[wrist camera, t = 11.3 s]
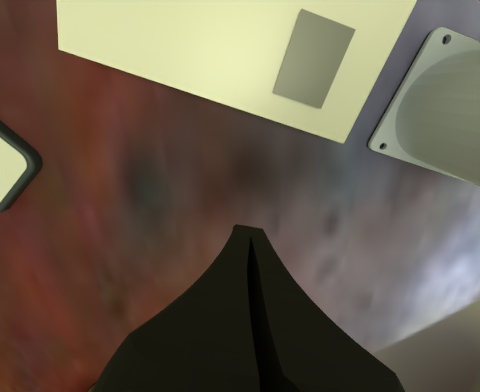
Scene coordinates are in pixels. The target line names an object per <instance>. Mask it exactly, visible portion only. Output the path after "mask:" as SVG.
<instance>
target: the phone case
mask: <svg viewBox="0 0 480 392" xmlns="http://www.w3.org/2000/svg"><path fill="white" fill-rule="evenodd" d="M41 167H42V159H41V157H40V155H39V153H38V152H37V151H36V150H35V149H34V148H33V147H32V146H30V145H29V144H28V143H27V142H26V141H24V140H23V139H22V138H21V137H20V136H18V135H17V134H16V133H15V132H14V131H12V130H11V129H10V128H9V127H7V126H6V125H5V124H4V123H3V122H1V121H0V213H1V212H3V211H4V210H6V209H8V208H9V207H10V206H11V205H12V204H13V202H14V201H15V200H16V199H17V197H18V196H19V195H20V194H21V193H22V191H23V190H24V189H25V188H26V186H27V185H28V184H29V183H30V181H31V180H32V179H33V178H34V177H35V175H36V174H37V173H38V172H39V170H40V169H41Z"/></svg>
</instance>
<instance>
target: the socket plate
mask: <svg viewBox="0 0 480 392" xmlns="http://www.w3.org/2000/svg"><path fill="white" fill-rule="evenodd" d="M416 1H417V0H57V21H58V44H59V50H62V51H65V52H68V53H71V54H74V55H77V56H80V57H83V58H86V59H89V60H92V61H95V62H98V63H101V64H104V65H107V66H111V67H114V68H117V69H120V70H123V71H126V72H129V73H132V74H135V75H138V76H141V77H144V78H147V79H150V80H153V81H156V82H159V83H162V84H165V85H168V86H171V87H174V88H177V89H180V90H183V91H186V92H189V93H192V94H195V95H198V96H201V97H204V98H207V99H210V100H213V101H216V102H219V103H222V104H225V105H228V106H231V107H234V108H237V109H240V110H243V111H246V112H249V113H252V114H255V115H258V116H261V117H264V118H267V119H270V120H273V121H276V122H279V123H282V124H285V125H288V126H291V127H294V128H297V129H300V130H303V131H306V132H309V133H312V134H315V135H318V136H321V137H324V138H327V139H330V140H333V141H336V142H339V143H342V144H344V142H345V140H346V138H347V136H348V134H349V132H350V130H351V128H352V126H353V124H354V122H355V120H356V119H357V117H358V115H359V113H360V111H361V109H362V107H363V105H364V103H365V101H366V99H367V97H368V95H369V93H370V91H371V89H372V87H373V85H374V83H375V81H376V79H377V78H378V76H379V74H380V72H381V70H382V68H383V66H384V64H385V62H386V60H387V58H388V56H389V54H390V52H391V50H392V48H393V46H394V44H395V42H396V40H397V39H398V37H399V35H400V33H401V31H402V29H403V27H404V25H405V23H406V21H407V19H408V17H409V15H410V13H411V11H412V9H413V7H414V5H415V3H416Z"/></svg>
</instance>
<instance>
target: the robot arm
mask: <svg viewBox="0 0 480 392" xmlns="http://www.w3.org/2000/svg"><path fill="white" fill-rule="evenodd" d="M444 36H445V37H446V42H445V43H444V44H443V43H442V39H443V37H444ZM382 143H384V146H383V147H382V148H380V145H381V144H382ZM368 147H369V148H370V149H371V150H373V151H376V152H379V153H382V154H385V155H388V156H391V157H394V158H397V159H400V160H403V161H406V162H409V163H412V164H415V165H418V166H421V167H424V168H427V169H430V170H433V171H436V172H439V173H442V174H445V175H448V176H451V177H454V178H457V179H460V180H463V181H466V182H470V183H473V184H476V185H478V186H480V42H479V41H477V40H474V39H472V38H469V37H467V36H464V35H462V34H459V33H457V32H454V31H452V30H449V29H447V28H445V27H440V28H437V29H434V30H433V31H431V33H430V34H429V35H428V37H427V39H426V41H425V42H424V44H423V46H422V48H421V50H420V51H419V53H418V55H417V57H416V58H415V60H414V62H413V64H412V66H411V67H410V69H409V71H408V73H407V75H406V76H405V78H404V80H403V82H402V83H401V85H400V87H399V89H398V91H397V92H396V94H395V96H394V98H393V99H392V101H391V103H390V105H389V107H388V108H387V110H386V112H385V114H384V116H383V117H382V119H381V121H380V123H379V124H378V126H377V128H376V130H375V132H374V133H373V135H372V137H371V139H370V141H369V143H368ZM92 392H405V390H404V388H403V386H402V385H401V383H400V381H399V379H398V378H397V376H396V374H395V373H394V372H393V371H392V370H390V369H389V368H388V367H387V366H385V365H384V364H383V363H382V362H380V361H379V360H378V359H376V358H375V357H374V356H373V355H371V354H370V353H369V352H368V351H366V350H365V349H364V348H362V347H361V346H360V345H359V344H358V343H356V342H355V341H354V340H353V339H352V338H351V337H350V336H348V335H347V334H346V333H345V332H344V331H343V330H342V329H340V328H339V327H338V326H337V325H336V324H335V323H334V322H333V321H332V320H331V319H330V318H329V317H328V316H327V315H326V314H325V313H324V312H323V311H322V310H321V309H320V308H319V307H318V306H317V305H316V304H315V303H314V302H313V301H312V300H311V299H310V298H309V297H308V296H307V294H306V293H305V292H304V291H303V290H302V289H301V287H300V286H299V285H298V284H297V283H296V281H295V280H294V279H293V277H292V276H291V275H290V273H289V272H288V270H287V269H286V268H285V266H284V265H283V263H282V262H281V260H280V258H279V257H278V255H277V254H276V252H275V250H274V249H273V247H272V245H271V243H270V242H269V240H268V238H267V236H266V234H265V232H264V231H263V229H260V228H254V227H249V226H243V225H237V224H236V225H235V226H234V227H233V231H232V234H231V236H230V238H229V240H228V241H227V243H226V245H225V246H224V248H223V249H222V251H221V252H220V254H219V255H218V256H217V258H216V259H215V260H214V262H213V263H212V264H211V265H210V267H209V268H208V269H207V270H206V271H205V272H204V273H203V275H202V276H201V277H200V278H199V279H198V280H197V281H196V282H195V283H194V284H193V285H192V286H191V287H190V288H189V289H187V290H186V291H185V292H184V293H183V294H182V295H181V296H179V297H178V298H177V299H176V300H175V301H173V302H172V303H171V304H170V305H168V306H167V307H166V308H165V309H164V310H162V311H161V312H160V313H158V314H157V315H155V316H154V317H153V318H151V319H150V320H148V321H147V322H145V323H144V324H143V325H141V326H140V327H138V328H137V329H135V330H134V331H132V332H131V333H130V334H129V335H128V336H127V337H126V338H125V340H124V341H123V342H122V344H121V345H120V346H119V348H118V349H117V350H116V352H115V353H114V355H113V356H112V358H111V359H110V361H109V362H108V364H107V366H106V367H105V369H104V370H103V372H102V373H101V375H100V377H99V379H98V381H97V383H96V385H95V387H94V389H93V390H92Z"/></svg>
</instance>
